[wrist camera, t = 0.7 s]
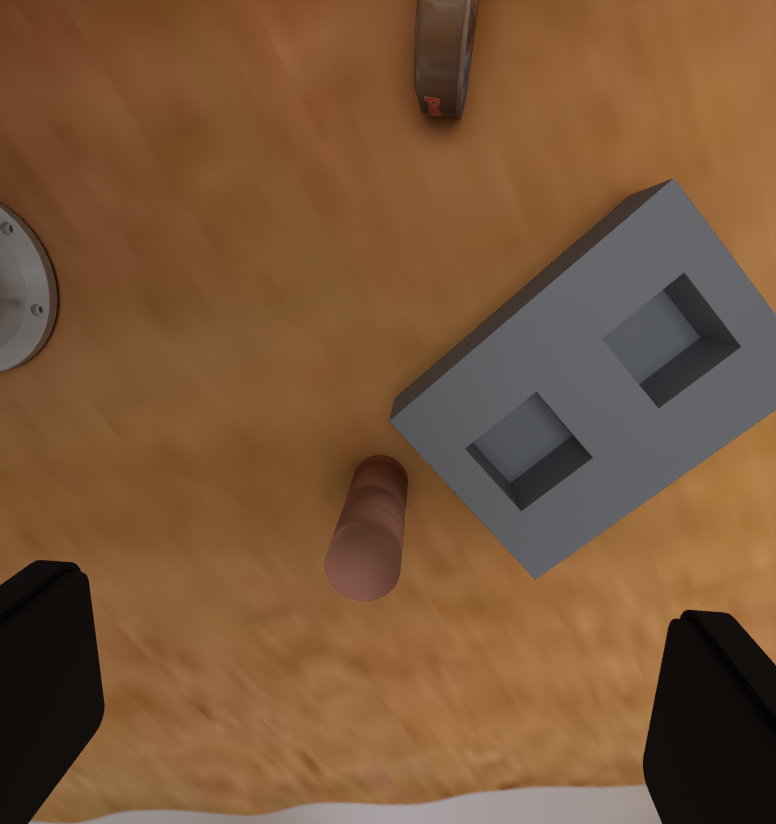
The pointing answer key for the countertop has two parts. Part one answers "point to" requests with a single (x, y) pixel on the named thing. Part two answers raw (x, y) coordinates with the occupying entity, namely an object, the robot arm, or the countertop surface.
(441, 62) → the tin
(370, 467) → the pin
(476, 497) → the bore block
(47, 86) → the countertop surface
